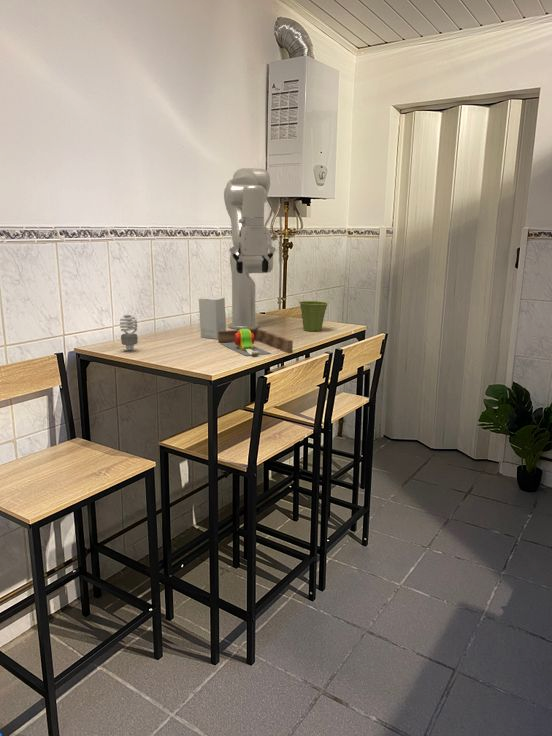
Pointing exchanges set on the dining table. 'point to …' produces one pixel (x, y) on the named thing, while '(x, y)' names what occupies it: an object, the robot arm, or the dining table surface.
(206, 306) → the skincare box
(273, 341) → the wall
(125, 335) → the light bulb
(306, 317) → the plant pot
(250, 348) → the toy measuring tape
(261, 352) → the mat
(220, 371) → the dining table surface
